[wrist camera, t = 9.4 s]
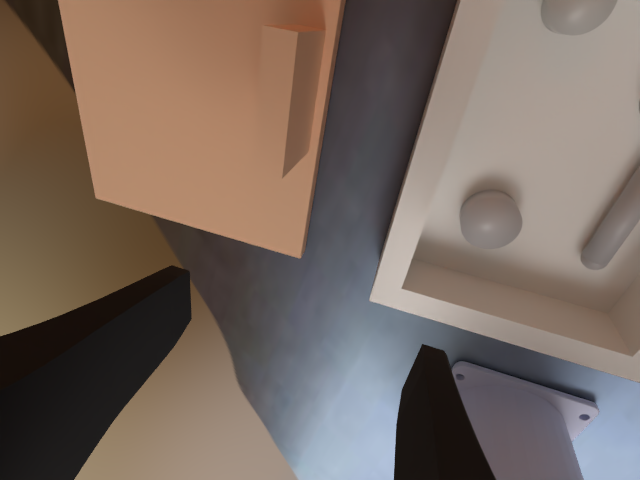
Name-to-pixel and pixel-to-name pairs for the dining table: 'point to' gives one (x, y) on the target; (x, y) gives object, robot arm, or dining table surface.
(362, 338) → the dining table surface
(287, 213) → the lid
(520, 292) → the parts tray
